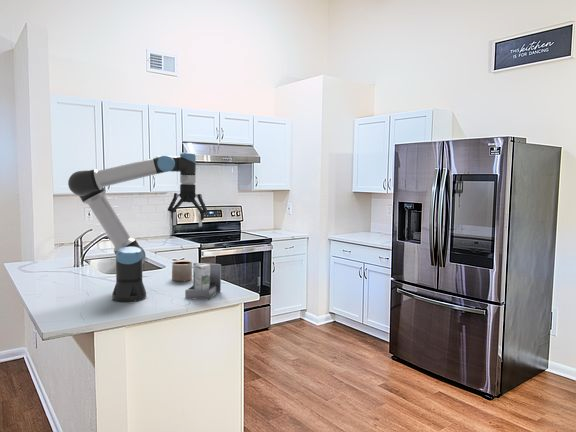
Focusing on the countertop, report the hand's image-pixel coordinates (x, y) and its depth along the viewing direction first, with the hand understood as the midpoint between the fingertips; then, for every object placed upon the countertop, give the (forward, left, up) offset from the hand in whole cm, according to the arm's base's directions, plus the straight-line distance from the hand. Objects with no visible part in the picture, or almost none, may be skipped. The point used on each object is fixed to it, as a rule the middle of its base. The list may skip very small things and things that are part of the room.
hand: (187, 225), depth 231 cm
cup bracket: (+11, -8, -33) cm, 35 cm away
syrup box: (+11, -10, -32) cm, 35 cm away
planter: (-10, +19, -33) cm, 39 cm away
